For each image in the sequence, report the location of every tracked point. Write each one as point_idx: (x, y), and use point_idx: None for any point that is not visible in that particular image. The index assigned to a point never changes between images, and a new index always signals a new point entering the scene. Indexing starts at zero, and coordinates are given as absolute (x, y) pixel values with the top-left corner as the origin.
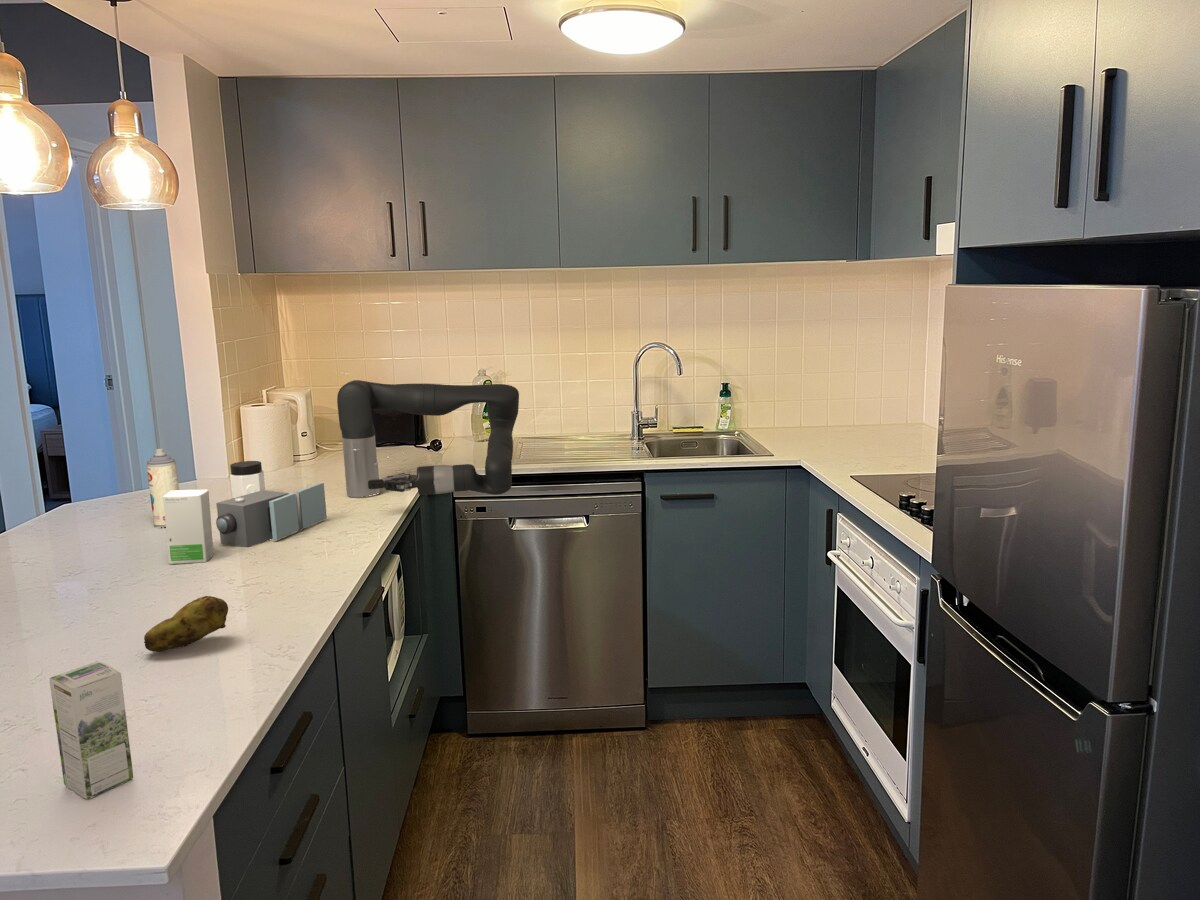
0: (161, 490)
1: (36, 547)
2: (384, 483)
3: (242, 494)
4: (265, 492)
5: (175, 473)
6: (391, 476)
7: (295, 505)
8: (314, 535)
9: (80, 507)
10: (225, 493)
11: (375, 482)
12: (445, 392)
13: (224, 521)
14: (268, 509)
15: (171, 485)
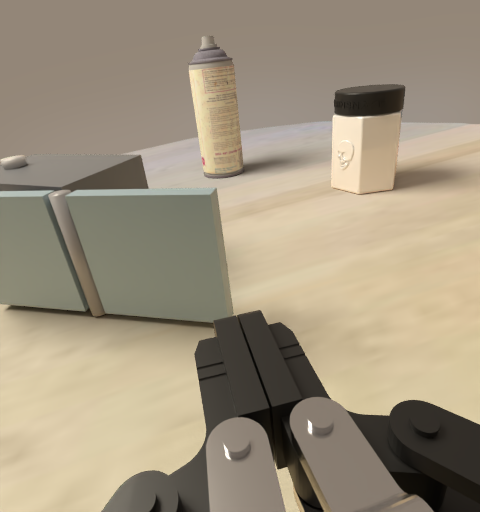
0: (195, 113)
1: (143, 153)
2: (173, 480)
3: (332, 157)
4: (105, 162)
5: (212, 86)
6: (449, 466)
7: (51, 236)
8: (23, 364)
9: (307, 125)
10: (427, 150)
11: (204, 374)
12: None
13: None
14: None
15: (203, 107)
